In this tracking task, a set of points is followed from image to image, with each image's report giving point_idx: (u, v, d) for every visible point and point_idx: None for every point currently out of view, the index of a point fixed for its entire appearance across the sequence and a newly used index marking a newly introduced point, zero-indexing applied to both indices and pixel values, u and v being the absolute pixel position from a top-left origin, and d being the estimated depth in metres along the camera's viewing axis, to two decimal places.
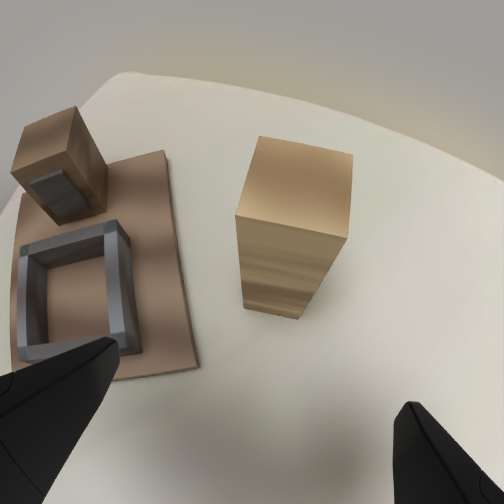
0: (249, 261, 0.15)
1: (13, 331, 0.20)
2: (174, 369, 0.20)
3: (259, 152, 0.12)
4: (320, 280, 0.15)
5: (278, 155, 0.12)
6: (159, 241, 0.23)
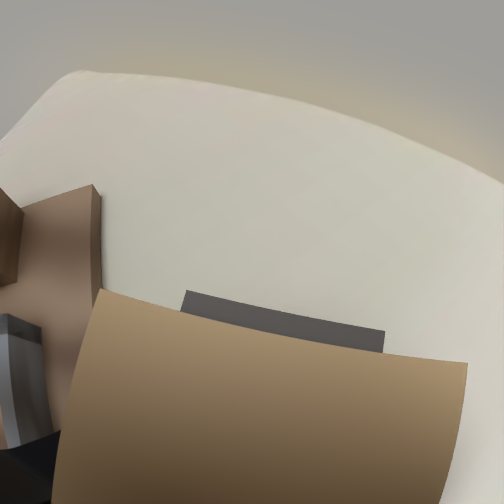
0: None
1: None
2: None
3: (90, 380, 0.03)
4: None
5: (161, 405, 0.03)
6: (76, 338, 0.14)
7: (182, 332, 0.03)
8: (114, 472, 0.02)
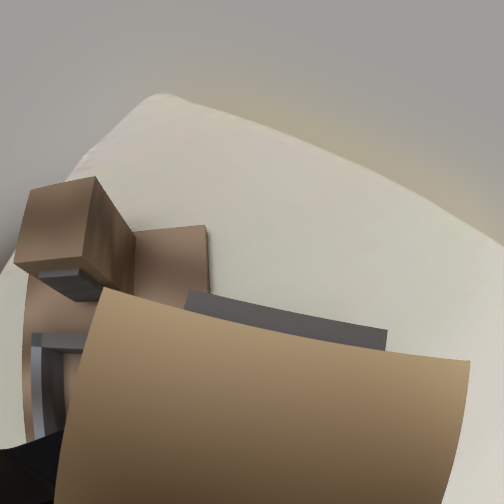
0: None
1: (27, 408, 0.18)
2: None
3: (94, 378, 0.03)
4: None
5: (165, 403, 0.03)
6: None
7: (187, 330, 0.03)
8: (118, 471, 0.02)
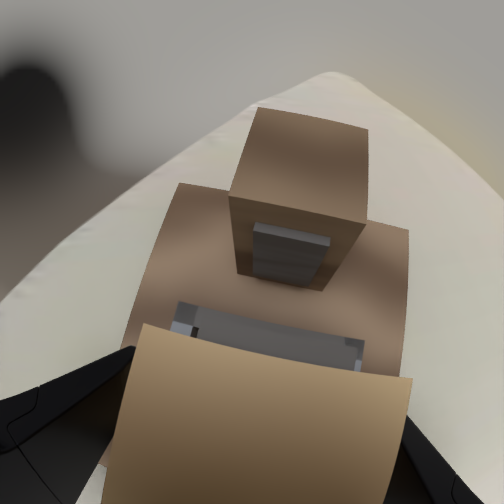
0: None
1: None
2: None
3: (139, 389, 0.04)
4: None
5: (191, 404, 0.04)
6: (382, 369, 0.16)
7: (206, 354, 0.04)
8: (157, 453, 0.04)
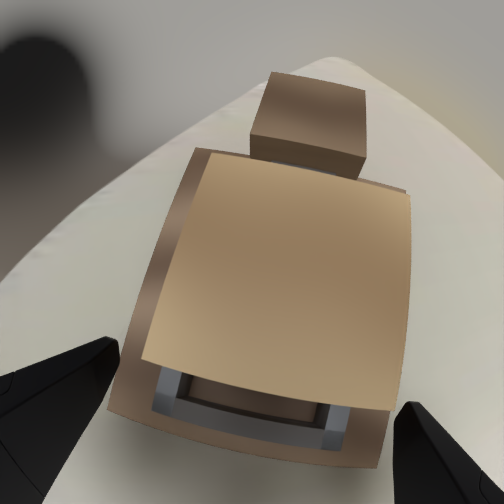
0: None
1: (132, 339, 0.17)
2: (352, 466, 0.14)
3: (207, 192, 0.06)
4: None
5: (249, 199, 0.06)
6: None
7: (259, 168, 0.06)
8: (220, 239, 0.05)
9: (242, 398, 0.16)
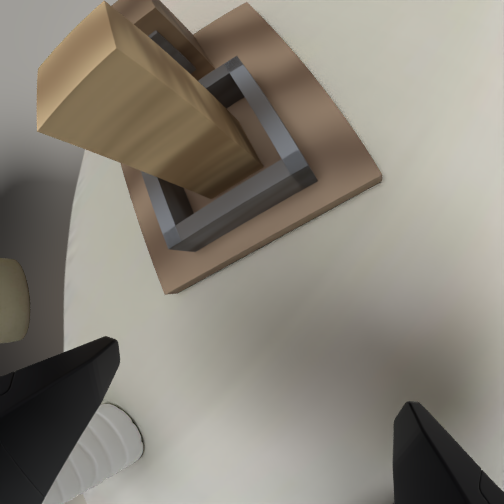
0: (119, 152, 0.12)
1: (147, 232, 0.22)
2: (359, 186, 0.17)
3: (40, 77, 0.09)
4: (190, 107, 0.11)
5: (51, 63, 0.09)
6: (288, 70, 0.19)
7: (52, 54, 0.09)
8: (47, 80, 0.09)
9: None
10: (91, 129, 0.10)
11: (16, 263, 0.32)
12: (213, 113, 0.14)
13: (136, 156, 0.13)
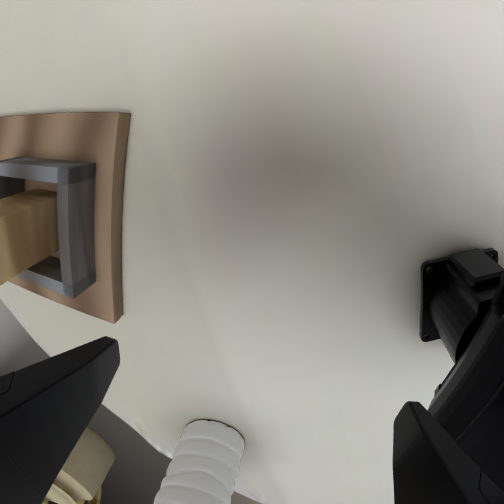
0: None
1: (70, 303, 0.24)
2: (116, 135, 0.18)
3: None
4: None
5: None
6: (25, 128, 0.19)
7: None
8: None
9: None
10: None
11: None
12: (2, 211, 0.15)
13: None
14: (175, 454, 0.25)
